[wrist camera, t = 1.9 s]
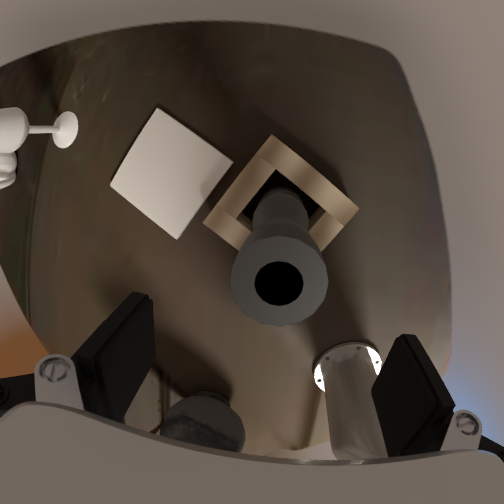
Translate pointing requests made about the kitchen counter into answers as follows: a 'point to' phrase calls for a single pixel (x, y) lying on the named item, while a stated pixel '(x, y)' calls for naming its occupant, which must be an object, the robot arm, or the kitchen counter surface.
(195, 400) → the pitcher
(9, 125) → the champagne flute
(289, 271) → the candle holder
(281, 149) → the socket block
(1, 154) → the cat figurine
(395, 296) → the kitchen counter surface
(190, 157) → the ceramic tile
